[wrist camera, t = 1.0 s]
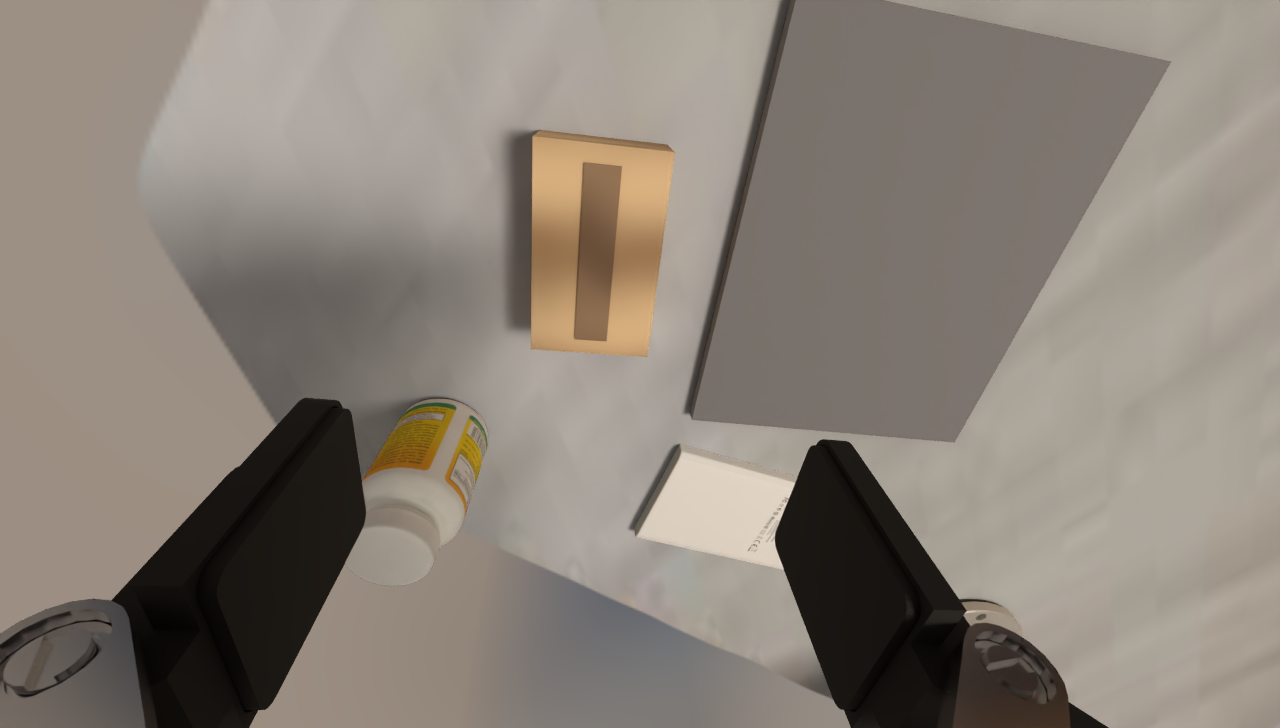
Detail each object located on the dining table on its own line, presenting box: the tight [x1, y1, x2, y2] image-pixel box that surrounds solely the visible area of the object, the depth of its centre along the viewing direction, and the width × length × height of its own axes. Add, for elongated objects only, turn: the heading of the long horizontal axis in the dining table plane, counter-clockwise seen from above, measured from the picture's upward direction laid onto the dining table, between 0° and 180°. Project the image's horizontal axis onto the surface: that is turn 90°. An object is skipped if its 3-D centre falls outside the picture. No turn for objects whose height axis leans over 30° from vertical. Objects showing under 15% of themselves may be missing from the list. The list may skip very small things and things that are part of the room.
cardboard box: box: [531, 130, 675, 357], centre depth 25 cm, size 10×6×3 cm, turn 174°
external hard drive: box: [634, 444, 797, 570], centre depth 36 cm, size 2×8×12 cm
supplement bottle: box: [345, 399, 488, 586], centre depth 27 cm, size 5×5×10 cm
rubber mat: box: [690, 0, 1171, 442], centre depth 27 cm, size 22×18×1 cm
